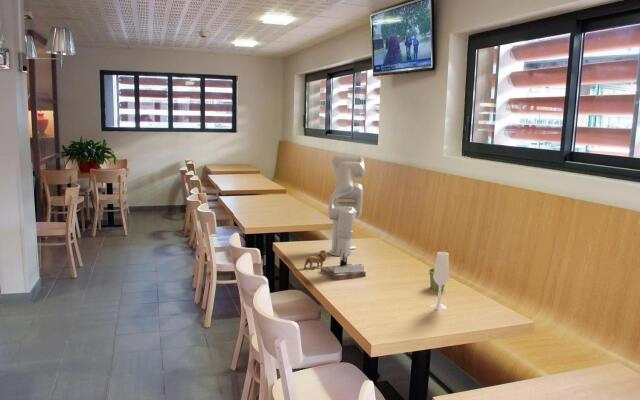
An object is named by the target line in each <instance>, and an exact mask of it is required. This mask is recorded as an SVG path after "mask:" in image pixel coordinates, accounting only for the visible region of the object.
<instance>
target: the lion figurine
mask: <svg viewBox="0 0 640 400" xmlns="http://www.w3.org/2000/svg"><path fill="white" fill-rule="evenodd" d="M327 255H328V253H327V251H326V250H324V249H321V250H320V251H319V253H318V255H316V256H313V255H312V256H311V255H309V256H308V257H307V258H306V259H305V263H304V266H303V270H306V269H308V268H307V265H308V264H309V268H310V269H311V270H314V267H312V266H313V264H317V265H316V267H318V268H321V267H323V263H324V262H325V261H326V259H327Z"/></svg>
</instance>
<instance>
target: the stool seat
mask: <svg viewBox="0 0 640 400" xmlns="http://www.w3.org/2000/svg"><path fill="white" fill-rule="evenodd" d="M347 265H353V264H351V263H349V264H348V263H347ZM333 266H334V265H330V266H322V267H320V273H322V274H323V275H325V276H326V277H328V278H330V279H332V280H333V281H340V280H348V279H356V278H363V277H365V278H366V276H367V275H366V274H367V273H366V272H367V271H365V270H364V271H361V272H347V273H333ZM336 266H340V264H339V265H336Z"/></svg>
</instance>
